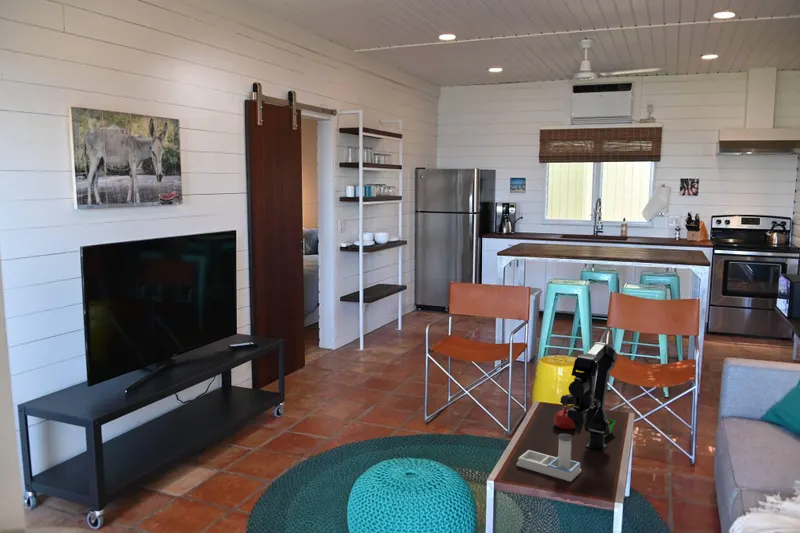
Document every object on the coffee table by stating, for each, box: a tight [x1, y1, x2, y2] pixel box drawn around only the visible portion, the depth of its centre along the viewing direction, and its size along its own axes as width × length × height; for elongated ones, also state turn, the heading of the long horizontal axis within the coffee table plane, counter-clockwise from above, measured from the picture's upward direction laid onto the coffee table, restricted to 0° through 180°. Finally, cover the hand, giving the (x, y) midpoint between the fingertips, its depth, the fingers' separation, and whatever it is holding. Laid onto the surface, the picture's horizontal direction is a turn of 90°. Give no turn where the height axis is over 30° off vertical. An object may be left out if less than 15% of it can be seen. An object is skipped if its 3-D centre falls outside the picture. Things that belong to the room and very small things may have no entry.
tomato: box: [553, 405, 576, 430], centre depth 273 cm, size 10×10×9 cm
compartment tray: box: [516, 449, 582, 482], centre depth 234 cm, size 10×21×4 cm, turn 53°
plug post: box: [557, 432, 573, 470], centre depth 230 cm, size 5×5×13 cm
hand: (583, 430), depth 237 cm, fingers open, 9 cm apart
